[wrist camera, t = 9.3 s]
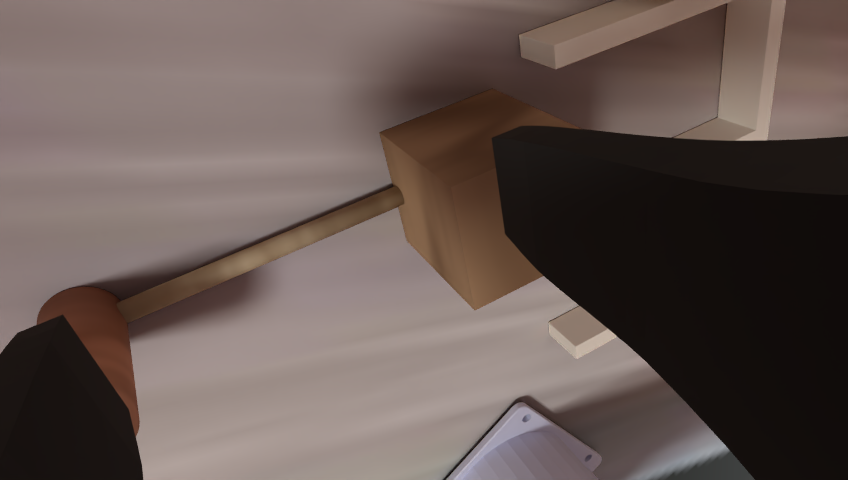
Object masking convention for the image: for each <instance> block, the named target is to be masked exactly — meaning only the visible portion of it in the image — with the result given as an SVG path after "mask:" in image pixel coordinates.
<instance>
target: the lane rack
mask: <svg viewBox="0 0 848 480" xmlns="http://www.w3.org/2000/svg"><path fill="white" fill-rule="evenodd" d="M726 3H727V14H726V25H725V37H724V49H723V61H722V73H721V84H720V96H719V108H718V118H715V119H713V120H711V121H709V122H707V123H704V124H702V125H700V126H698V127H696V128H693V129H691V130H689V131H687V132H685V133H682V134H680V135H678V136H676V137H674V138H683V139H699V140H726V141H753V140H767V138H768V130H769V123H770V116H771V108H772V101H773V94H774V86H775V79H776V72H777V64H778V57H779V50H780V42H781V35H782V28H783V20H784V13H785V6H786V0H614V1H611V2H608V3H605V4H603V5H600V6H597V7H594V8H592V9H589V10H586V11H583V12H580V13H578V14H575V15H572V16H569V17H567V18H564V19H561V20H558V21H556V22H553V23H550V24H547V25H545V26H542V27H539V28H536V29H533V30H531V31H528V32H525V33H522V34H520V35H519V40H520V50H521V57H522V58H525V59H528V60H531V61H533V62H536V63H539V64H542V65H545V66H547V67H550V68H553V69H558V68H561V67H563V66H566V65H569V64H571V63H574V62H576V61H579V60H581V59H584V58H587V57H589V56H592V55H594V54H597V53H599V52H602V51H605V50H607V49H610V48H612V47H615V46H617V45H620V44H623V43H625V42H628V41H630V40H633V39H635V38H638V37H641V36H643V35H646V34H648V33H651V32H654V31H656V30H659V29H661V28H664V27H666V26H669V25H672V24H674V23H677V22H679V21H682V20H684V19H687V18H690V17H692V16H695V15H697V14H700V13H702V12H705V11H708V10H710V9H713V8H715V7H718V6H720V5H723V4H726ZM548 323H549V332H550V335H551V336H552V337H553V338H554V339H555V340H556V341H557V342H558V343H559V344H560V345H561V346H563V347H564V348H565V349H566V350H567V351H568V352H569V353H570V354H571V355H572V356H573V357H575V358H576V359H578V358H580V357H581V356H583V355H585V354H587V353H589V352H591V351H592V350H594V349H596V348H598V347H600V346H601V345H603V344H605V343H607V342H609V341H610V340H612V339H614V338H616V337H617V336H616V335H615V334H614V333H613V332H611V331H610V330H609V329H608V328H606V327H605V326H604V325H603V324H602V323H600V322H599V321H598V320H597V319H595V318H594V317H593V316H592V315H590V314H589V313H588V312H587V311H586V310H584V309H583V308H582V307H581V306H579V307H577V308H575V309H573V310H571V311H569V312H567V313H565V314H564V315H562V316H560V317H558V318H556V319H554V320H552V321H550V322H548Z"/></svg>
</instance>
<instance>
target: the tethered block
mask: <svg viewBox="0 0 848 480" xmlns="http://www.w3.org/2000/svg"><path fill="white" fill-rule="evenodd" d="M519 126H553V127H565V128H575V129H581V128H579V127H577V126H574V125H572V124H570V123H568V122H565V121H563V120H561V119H559V118H557V117H554V116H552V115H550V114H548V113H546V112H543V111H541V110H539V109H537V108H534V107H532V106H530V105H528V104H526V103H523V102H521V101H519V100H517V99H515V98H512V97H510V96H508V95H506V94H503V93H501V92H499V91H497V90H495V89H490V90H487V91H485V92H482V93H480V94H477V95H475V96H472V97H469V98H467V99H464V100H462V101H459V102H457V103H454V104H451V105H449V106H446V107H444V108H441V109H439V110H436V111H433V112H431V113H428V114H426V115H423V116H421V117H418V118H415V119H413V120H410V121H408V122H405V123H403V124H400V125H397V126H395V127H392V128H390V129H387V130H385V131H382V132H379V133H380V137H381V141H382V145H383V149H384V153H385V157H386V161H387V165H388V168H389V172H390V176H391V180H392V184H393V187H392V188H390V189H387V190H385V191H382V192H380V193H378V194H375V195H373V196H370V197H368V198H366V199H363V200H361V201H359V202H356V203H354V204H351V205H349V206H347V207H344V208H342V209H339V210H337V211H335V212H332V213H330V214H328V215H325V216H323V217H320V218H318V219H316V220H313V221H311V222H308V223H306V224H304V225H301V226H299V227H297V228H294V229H292V230H289V231H287V232H285V233H282V234H280V235H277V236H275V237H273V238H270V239H268V240H266V241H263V242H261V243H258V244H256V245H254V246H251V247H249V248H247V249H244V250H242V251H239V252H237V253H235V254H232V255H230V256H227V257H225V258H223V259H220V260H218V261H216V262H213V263H211V264H208V265H206V266H204V267H201V268H199V269H196V270H194V271H192V272H189V273H187V274H185V275H182V276H180V277H177V278H175V279H173V280H170V281H168V282H165V283H163V284H161V285H158V286H156V287H154V288H151V289H149V290H146V291H144V292H142V293H139V294H137V295H134V296H132V297H130V298H127V299H125V300H123V301H120V300H119V299H118V298H117V297H116V296H115V295H113V294H112V293H110V292H108V291H106V290H103V289H100V288H95V287H75V288H71V289H67V290H64V291H62V292H60V293H57V294H56V295H54V296H53V297H51V298H50V299H49V300H48V301H47V302H46V303H45V304H44V305H43V306H42V308H41V310H40V312H39V314H38V318H37V325H38V324H41V323H43V322H45V321H48V320H50V319H53V318H55V317H58V316H60V315H62V314H63V315H64V317H65V318H66V320H67V321H68V322H69V324H70V325H71V327H72V328H73V330H74V331H75V332H76V334H77V335H78V337H79V338H80V340H81V341H82V343H83V344H84V345H85V347H86V348H87V350H88V351H89V353H90V354H91V355H92V357H93V358H94V360H95V361H96V363H97V364H98V366H99V367H100V368H101V370H102V371H103V373H104V374H105V376H106V377H107V378H108V380H109V381H110V383H111V384H112V386H113V387H114V389H115V390H116V391H117V393H118V394H119V396H120V397H121V399H122V400H123V401H124V403H125V404H126V406H127V407H128V409H129V412H130V416H131V420H132V424H133V428H134V432H135V436H136V435H137V433H138V430H139V422H140V421H139V413H138V405H137V397H136V389H135V381H134V373H133V365H132V357H131V349H130V341H129V333H128V325H127V323H129V322H132V321H134V320H136V319H139V318H141V317H143V316H146V315H148V314H150V313H153V312H155V311H157V310H160V309H162V308H164V307H167V306H169V305H171V304H173V303H176V302H178V301H180V300H183V299H185V298H187V297H190V296H192V295H194V294H197V293H199V292H201V291H204V290H206V289H208V288H211V287H213V286H215V285H218V284H220V283H222V282H225V281H227V280H229V279H232V278H234V277H236V276H238V275H241V274H243V273H245V272H248V271H250V270H252V269H255V268H257V267H259V266H262V265H264V264H266V263H269V262H271V261H273V260H276V259H278V258H280V257H283V256H285V255H287V254H290V253H292V252H294V251H297V250H299V249H301V248H303V247H306V246H308V245H310V244H313V243H315V242H317V241H320V240H322V239H324V238H327V237H329V236H331V235H334V234H336V233H338V232H341V231H343V230H345V229H348V228H350V227H352V226H355V225H357V224H359V223H362V222H364V221H366V220H368V219H371V218H373V217H375V216H378V215H380V214H382V213H385V212H387V211H389V210H392V209H394V208H396V207H398V208H399V212H400V216H401V220H402V224H403V227H404V231H405V235H406V239H407V241H408V243H409V244H410V245H411V246H412V247H413V248H414V249H415V250H416V251H417V252H418V253H419V254H420V255H421V256H422V257H423V258H424V259H425V260H426V261H427V262H428V263H429V264H430V265H431V266H432V267H433V268H434V269H435V270H436V271H437V272H438V273H439V274H440V275H441V276H442V277H443V278H444V279H445V280H446V281H447V283H448V284H449V285H450V286H451V287H452V288H453V289H454V290H455V291H456V292H457V293H458V294H459V295H460V296H461V297H462V298H463V299H464V300H465V301H466V302H467V303H468V304H469V305H470V306H471V307H472V308H473V309H474V310H477V309H479V308H481V307H483V306H485V305H487V304H489V303H491V302H493V301H495V300H497V299H499V298H501V297H503V296H505V295H507V294H508V293H510V292H512V291H514V290H516V289H518V288H520V287H522V286H524V285H526V284H528V283H530V282H532V281H534V280H536V279H538V278H540V277H542V276H543V275H542V274H541V273H540V272H539V271H538V270H537V269H536V268H535V267H534V266H533V265H532V264H531V263H530V262H529V261H528V260H527V259H526V258H525V256H524V255H523V254H522V253H521V252H520V251H519V250H518V248H517V247H516V246H515V245H514V244H513V243H512V242H511V240H510V239H509V238H508V237H507V236H506V235H505V231H504V223H503V216H502V209H501V202H500V195H499V188H498V181H497V174H496V167H495V160H494V152H493V145H492V137H495V136H497V135H500V134H502V133H505V132H507V131H509V130H512V129H514V128H517V127H519Z"/></svg>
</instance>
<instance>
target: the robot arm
mask: <svg viewBox="0 0 848 480" xmlns="http://www.w3.org/2000/svg"><path fill="white" fill-rule="evenodd" d="M492 145H493V152H494V160H495V167H496V174H497V181H498V188H499V195H500V202H501V209H502V216H503V223H504V231H505V235H506V236H507V237H508V238H509V239H510V240H511V242H512V243H513V244H514V245H515V246H516V247H517V248H518V250H519V251H520V252H521V253H522V254H523V255H524V256H525V258H526V259H527V260H528V261H529V262H530V263H531V264H532V265H533V266H534V267H535V268H536V269H537V270H538V271H539V272H540V273H541V274H542V275H543V276H545V277H546V278H547V279H548V280H549V281H550V282H552V283H553V284H554V285H555V286H556V287H558V288H559V289H560V290H561V291H562V292H564V293H565V294H566V295H567V296H568V297H570V298H571V299H572V300H573V301H575V302H576V303H577V304H578V305H579V306H581V307H582V308H583V309H584V310H586V311H587V312H588V313H589V314H590V315H592V316H593V317H594V318H595V319H597V320H598V321H599V322H600V323H602V324H603V325H604V326H605V327H606V328H608V329H609V330H610V331H611V332H613V333H614V334H615V335H616V336H617V337H619V338H620V339H621V340H622V341H624V342H625V343H626V344H627V345H628V346H629V347H630V348H632V349H633V350H634V351H635V352H636V353H637V354H638V355H639V356H641V357H642V358H643V359H644V360H645V361H646V362H647V363H648V364H649V365H650V366H651V367H652V368H653V369H654V370H655V371H656V372H657V373H658V374H659V375H660V376H661V377H662V378H663V379H664V380H665V381H666V382H667V383H668V384H669V385H670V386H671V387H672V388H673V389H674V390H675V391H676V393H677V394H678V395H679V396H680V397H681V398H682V399H683V400H684V401H685V402H686V403H687V404H688V405H689V406H690V407H691V408H692V409H693V410H694V412H695V413H696V414H697V415H698V416H699V417H700V418H701V419H702V420H703V421H704V422H705V423H706V425H707V426H708V427H709V428H710V429H711V430H712V431H713V432H714V433H715V434H716V435H717V436H718V438H719V439H720V440H721V441H722V442H723V443H724V444H725V445H726V446H727V448H728V449H729V450H730V451H731V452H732V453H733V455H734V456H735V457H736V458H737V459H738V460H739V461H740V463H741V464H742V465H743V466H744V467H745V468H746V470H747V471H748V472H749V473H750V474H751V475H752V476H753V478H754V479H755V480H848V136H846V137H832V138H817V139H800V140H753V141H726V140H699V139H683V138H666V137H654V136H642V135H632V134H622V133H613V132H603V131H594V130H585V129H575V128H565V127H553V126H519V127H517V128H514V129H512V130H509V131H507V132H505V133H502V134H500V135H497V136H495V137H492ZM601 461H602V457H601V456H600V455H599V453H598V452H596V451H595V450H593V449H592V448H590V447H589V446H587V445H586V444H584V443H583V442H581V441H580V440H578V439H577V438H575V437H574V436H573V435H571V434H570V433H568V432H567V431H565V430H564V429H562V428H561V427H559V426H558V425H556V424H555V423H553V422H552V421H550V420H549V419H547V418H546V417H545V416H543V415H542V414H540V413H539V412H537V411H536V410H534V409H533V408H531V407H530V406H528V405H527V404H525V403H523V402H520V403H517V404H515V405H514V406H513V407H512V408H511V409H510V410H509V411H508V412H507V413H506V414H505V415H504V416H503V418H502V419H501V420H500V421H499V422H498V423H497V424H496V425H495V426H494V427H493V429H492V430H491V431H490V432H489V433H488V434H487V435H486V436H485V437H484V438H483V440H482V441H481V442H480V443H479V444H478V445H477V446H476V447H475V448H474V449H473V451H472V452H471V453H470V454H469V455H468V456H467V457H466V458H465V459H464V460H463V462H462V463H461V464H460V465H459V466H458V467H457V468H456V469H455V470H454V471H453V472H452V474H451V475H450V476H449V477H448V478H447V479H446V480H599V479H598V478H597V477H596V476H595V474H594V473H593V471H594V470H595V469H596V468H597V467H598V466H599V465H600V463H601ZM0 480H143V472H142V464H141V459H140V455H139V450H138V445H137V441H136V436H135V432H134V428H133V424H132V420H131V416H130V412H129V409H128V407H127V406H126V404H125V403H124V401H123V400H122V399H121V397H120V396H119V394H118V393H117V391H116V390H115V389H114V387H113V386H112V384H111V383H110V381H109V380H108V378H107V377H106V376H105V374H104V373H103V371H102V370H101V368H100V367H99V366H98V364H97V363H96V361H95V360H94V358H93V357H92V355H91V354H90V353H89V351H88V350H87V348H86V347H85V345H84V344H83V343H82V341H81V340H80V338H79V337H78V335H77V334H76V332H75V331H74V330H73V328H72V327H71V325H70V324H69V322H68V321H67V320H66V318H65V317H64V315H63V314H62V315H60V316H58V317H55V318H53V319H50V320H48V321H45V322H43V323H41V324H38V325H36V326H33V327H31V328H28V329H26V330H24V331H21V332H19V333H17V334H16V335H15V337H14V338H13V339H12V340H11V341H10V342H9V344H8V345H7V346H6V347H5V349H4V350H3V351H2V353H1V354H0Z"/></svg>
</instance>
